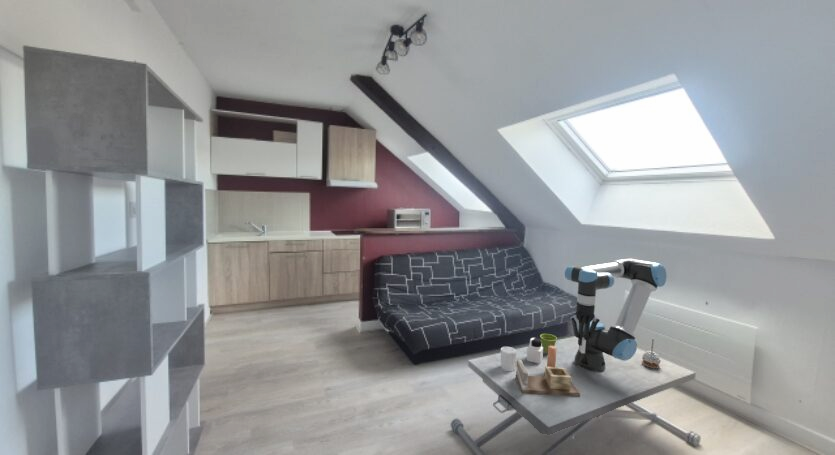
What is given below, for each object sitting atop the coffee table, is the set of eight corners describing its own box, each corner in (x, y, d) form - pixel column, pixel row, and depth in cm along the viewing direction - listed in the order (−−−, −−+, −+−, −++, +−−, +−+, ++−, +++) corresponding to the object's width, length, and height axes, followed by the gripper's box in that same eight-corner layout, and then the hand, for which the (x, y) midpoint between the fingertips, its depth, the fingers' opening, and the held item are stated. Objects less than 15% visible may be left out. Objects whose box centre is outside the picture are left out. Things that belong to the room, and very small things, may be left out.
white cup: (515, 372, 175) (517, 354, 174) (500, 370, 176) (501, 352, 175) (514, 365, 182) (515, 347, 181) (499, 363, 184) (500, 345, 183)
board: (568, 380, 168) (570, 362, 167) (579, 396, 155) (581, 376, 154) (515, 377, 170) (516, 359, 169) (521, 392, 157) (523, 373, 156)
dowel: (553, 369, 179) (555, 345, 178) (555, 373, 175) (557, 349, 174) (545, 369, 179) (547, 345, 178) (548, 373, 175) (549, 348, 174)
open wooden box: (563, 379, 166) (564, 367, 166) (570, 389, 157) (571, 377, 157) (544, 378, 167) (545, 366, 166) (550, 388, 158) (551, 376, 157)
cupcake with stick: (662, 367, 185) (664, 340, 183) (653, 370, 181) (656, 343, 180) (647, 361, 192) (649, 335, 190) (639, 363, 188) (641, 337, 187)
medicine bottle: (542, 359, 190) (543, 338, 189) (539, 364, 184) (540, 343, 183) (529, 355, 194) (530, 335, 193) (526, 360, 188) (527, 339, 187)
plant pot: (554, 356, 194) (555, 341, 193) (537, 352, 199) (538, 337, 198) (557, 350, 202) (558, 336, 201) (541, 346, 207) (542, 332, 206)
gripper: (596, 301, 161) (592, 349, 163) (568, 300, 162) (564, 347, 164) (604, 306, 153) (600, 356, 156) (574, 305, 154) (570, 354, 156)
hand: (582, 351), depth 160 cm, fingers closed
